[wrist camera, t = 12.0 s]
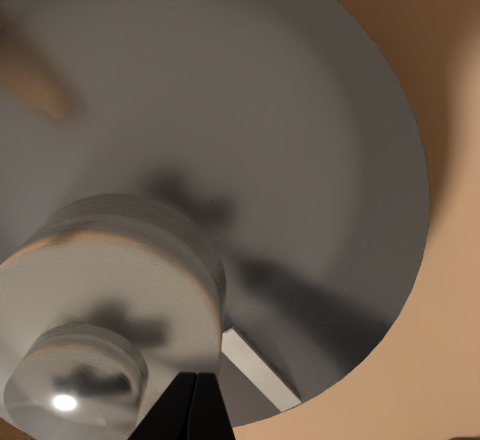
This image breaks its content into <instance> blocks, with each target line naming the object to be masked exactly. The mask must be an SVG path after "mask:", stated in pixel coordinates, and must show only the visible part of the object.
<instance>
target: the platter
mask: <svg viewBox="0 0 480 440" xmlns="http://www.w3.org/2000/svg"><path fill="white" fill-rule="evenodd" d="M113 193H118V194H131V195H137V196H142V197H146V198H149V199H153V200H156V201H159V202H161V203H163V204H166V205H168V206H170V207H172V208H174V209H176V210H177V211H179V212H181V213H182V214H184V215H185V216H187V217H188V218H189V219H191V220H192V221H193V222H194V223H195V224H197V225H198V226H199V227H200V228H201V229H202V230H203V231H204V232H205V234H206V235H207V236H208V237H209V239H210V240H211V241H212V243H213V244H214V246H215V248H216V249H217V251H218V253H219V255H220V258H221V260H222V262H223V266H224V270H225V274H226V283H227V287H226V301H225V313H224V325H223V337H222V349H221V361H220V373H219V387H220V390H221V393H222V397H223V400H224V403H225V406H226V410H227V413H228V416H229V420H230V423H231V426H232V427H237V426H242V425H246V424H249V423H253V422H256V421H260V420H263V419H267V418H270V417H272V416H275V415H277V414H280V413H282V412H285V411H287V410H290V409H292V408H295V407H297V406H299V405H301V404H302V403H304V402H306V401H308V400H310V399H312V398H314V397H316V396H317V395H319V394H321V393H322V392H324V391H325V390H327V389H328V388H330V387H331V386H333V385H334V384H335V383H337V382H338V381H340V380H341V379H343V378H344V377H345V376H346V375H347V374H348V373H350V372H351V371H352V370H353V369H354V368H355V367H356V366H358V365H359V364H360V363H361V362H362V361H363V360H364V359H365V358H366V357H367V356H368V355H369V354H370V353H371V351H372V350H373V349H374V348H375V347H376V346H377V345H378V344H379V343H380V341H381V340H382V339H383V338H384V336H385V335H386V333H387V332H388V330H389V329H390V328H391V326H392V325H393V323H394V322H395V320H396V319H397V317H398V316H399V314H400V312H401V310H402V308H403V306H404V304H405V302H406V300H407V298H408V296H409V295H410V293H411V291H412V288H413V285H414V282H415V280H416V277H417V274H418V271H419V268H420V265H421V262H422V259H423V254H424V248H425V243H426V238H427V233H428V226H429V201H430V190H429V181H428V172H427V163H426V156H425V152H424V148H423V144H422V141H421V137H420V133H419V129H418V126H417V122H416V118H415V116H414V114H413V112H412V109H411V107H410V105H409V102H408V100H407V98H406V95H405V93H404V91H403V89H402V86H401V84H400V82H399V80H398V78H397V77H396V75H395V73H394V72H393V70H392V69H391V67H390V65H389V64H388V62H387V61H386V59H385V58H384V56H383V54H382V53H381V51H380V50H379V48H378V46H377V45H376V43H375V42H374V41H373V40H372V39H371V37H370V36H369V35H368V34H367V33H366V32H365V30H364V29H363V28H362V27H361V26H360V25H359V23H358V22H357V21H356V20H355V19H354V18H353V16H352V15H351V14H350V13H349V12H348V11H347V9H346V8H345V7H344V6H343V5H341V4H340V3H339V2H338V1H337V0H0V265H1V264H2V263H3V262H4V261H5V260H6V259H7V258H9V257H10V256H11V255H12V254H13V253H14V252H15V251H16V250H17V249H18V248H19V247H20V246H21V245H22V244H23V243H24V242H25V241H26V240H27V239H28V238H29V237H30V236H31V235H32V234H34V233H35V232H36V231H37V230H38V229H39V228H40V227H41V226H42V225H43V224H44V223H45V222H46V221H47V220H48V219H49V218H50V217H51V216H52V215H53V214H54V213H56V212H57V211H59V210H60V209H61V208H63V207H64V206H66V205H68V204H70V203H72V202H74V201H76V200H79V199H83V198H86V197H89V196H94V195H100V194H113Z"/></svg>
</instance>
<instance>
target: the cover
mask: <svg viewBox="0 0 480 440" xmlns="http://www.w3.org/2000/svg"><path fill="white" fill-rule="evenodd" d="M226 287H227V283H226V274H225V270H224V266H223V262H222V260H221V258H220V255H219V253H218V251H217V249H216V248H215V246H214V244H213V243H212V241H211V240H210V239H209V237H208V236H207V235H206V234H205V232H204V231H203V230H202V229H201V228H200V227H199V226H198V225H197V224H195V223H194V222H193V221H192V220H191V219H189V218H188V217H187V216H185V215H184V214H182V213H181V212H179V211H177V210H176V209H174V208H172V207H170V206H168V205H166V204H163V203H161V202H159V201H156V200H153V199H149V198H146V197H142V196H137V195H131V194H118V193H113V194H100V195H94V196H89V197H86V198H83V199H79V200H76V201H74V202H72V203H70V204H68V205H66V206H64V207H63V208H61V209H60V210H59V211H57V212H56V213H54V214H53V215H52V216H51V217H50V218H49V219H48V220H47V221H46V222H45V223H44V224H43V225H42V226H41V227H40V228H39V229H38V230H37V231H36V232H35V233H34V234H32V235H31V236H30V237H29V238H28V239H27V240H26V241H25V242H24V243H23V244H22V245H21V246H20V247H19V248H18V249H17V250H16V251H15V252H14V253H13V254H12V255H11V256H10V257H9V258H7V259H6V260H5V261H4V262H3V263H2V264H1V265H0V417H1V418H2V419H4V420H5V421H6V422H8V423H9V424H11V425H13V426H14V427H16V428H18V429H19V430H21V431H23V432H25V433H27V434H28V435H30V436H31V437H33V438H35V439H36V440H127V439H128V437H129V436H130V435H131V434H132V432H133V431H134V430H135V428H136V427H137V426H138V424H139V423H140V422H141V421H142V419H143V418H144V417H145V415H146V414H147V413H148V411H149V410H150V409H151V408H152V406H153V405H154V404H155V402H156V401H157V400H158V398H159V397H160V396H161V395H162V393H163V392H164V391H165V389H166V388H167V387H168V385H169V384H170V383H171V382H172V380H173V379H174V378H175V376H176V375H177V374H178V373H179V372H181V371H191V372H196V373H197V374H198V373H199V372H214V373H215V374H216V377H217V380H218V384H219V373H220V361H221V349H222V337H223V325H224V313H225V301H226Z"/></svg>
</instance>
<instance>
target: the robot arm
mask: <svg viewBox="0 0 480 440" xmlns="http://www.w3.org/2000/svg"><path fill="white" fill-rule="evenodd" d="M127 440H236V439H235V436H234V433H233V429H232V426H231V423H230V420H229V416H228V413H227V410H226V406H225V403H224V400H223V397H222V393H221V390H220V387H219V384H218V380H217V377H216V374H215V373H214V372H199V373H198V374H197V373H196V372H191V371H181V372H179V373H178V374H177V375H176V376H175V378H174V379H173V380H172V382H171V383H170V384H169V385H168V387H167V388H166V389H165V391H164V392H163V393H162V395H161V396H160V397H159V398H158V400H157V401H156V402H155V404H154V405H153V406H152V408H151V409H150V410H149V411H148V413H147V414H146V415H145V417H144V418H143V419H142V421H141V422H140V423H139V424H138V426H137V427H136V428H135V430H134V431H133V432H132V434H131V435H130V436H129V437H128V439H127Z"/></svg>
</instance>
